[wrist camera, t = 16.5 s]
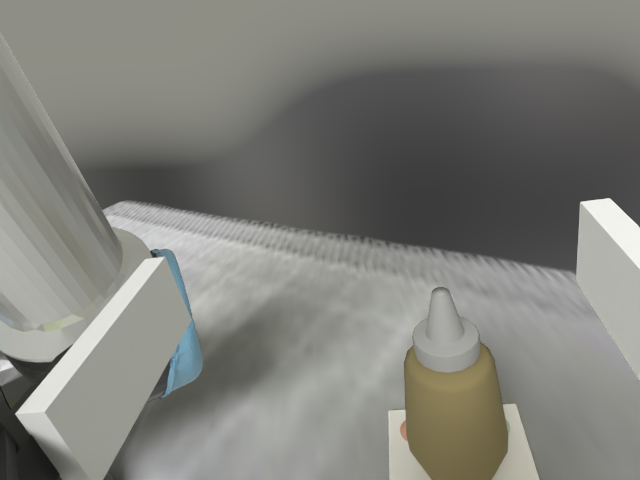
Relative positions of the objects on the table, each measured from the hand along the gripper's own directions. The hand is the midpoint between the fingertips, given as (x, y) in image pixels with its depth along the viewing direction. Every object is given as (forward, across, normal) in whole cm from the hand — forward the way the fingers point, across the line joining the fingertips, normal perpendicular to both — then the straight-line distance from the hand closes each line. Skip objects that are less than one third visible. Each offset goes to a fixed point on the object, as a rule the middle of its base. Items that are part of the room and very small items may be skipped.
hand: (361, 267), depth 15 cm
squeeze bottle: (+14, +3, -30) cm, 33 cm away
